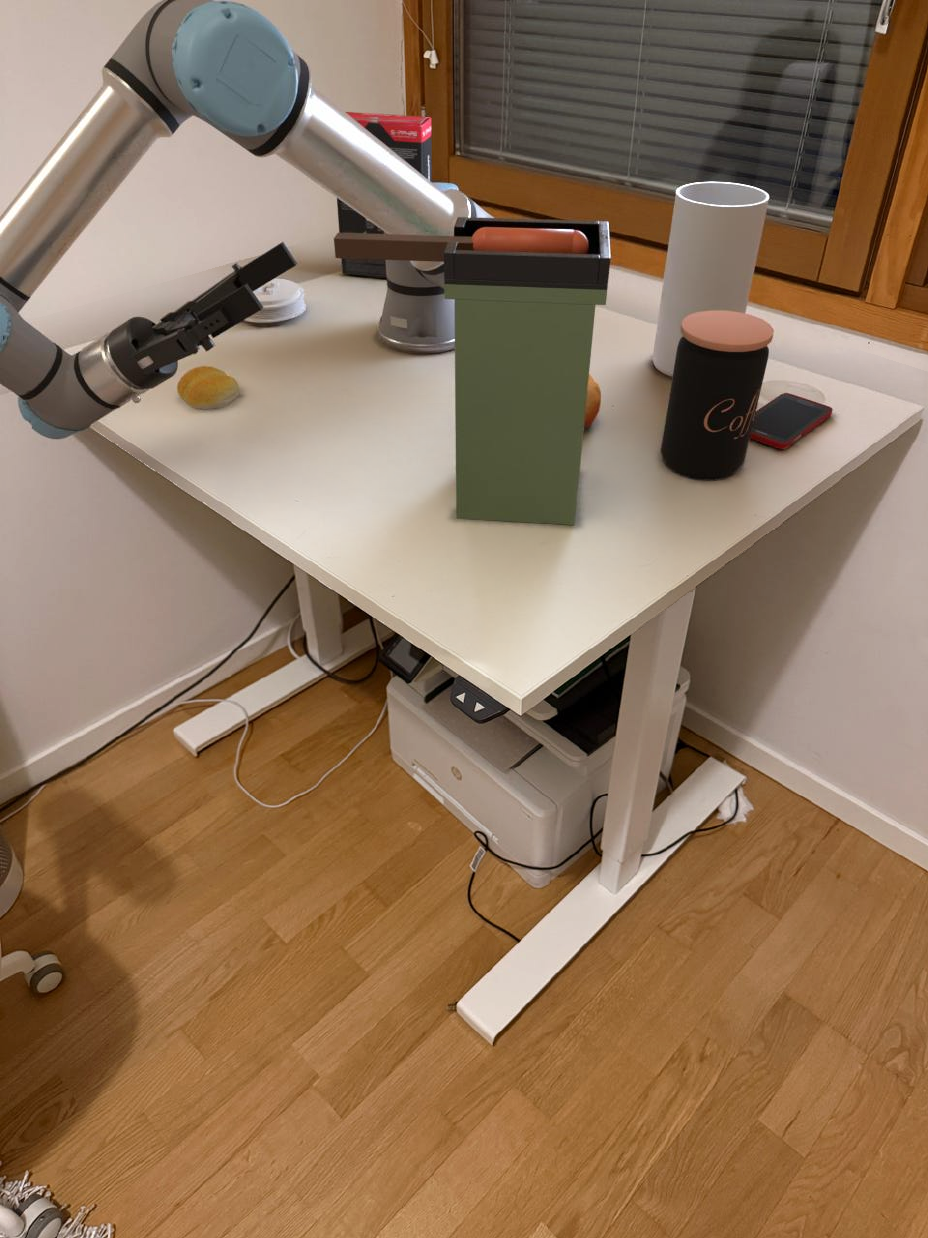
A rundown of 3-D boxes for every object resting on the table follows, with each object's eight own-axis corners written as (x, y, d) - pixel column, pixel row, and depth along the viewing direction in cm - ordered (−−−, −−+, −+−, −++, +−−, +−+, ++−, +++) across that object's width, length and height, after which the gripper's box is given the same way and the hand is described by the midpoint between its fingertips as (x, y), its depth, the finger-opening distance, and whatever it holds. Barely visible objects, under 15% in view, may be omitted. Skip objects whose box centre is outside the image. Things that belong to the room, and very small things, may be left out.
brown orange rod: (334, 260, 91) (331, 227, 89) (340, 250, 93) (337, 218, 91) (587, 268, 89) (589, 235, 87) (587, 258, 91) (589, 225, 89)
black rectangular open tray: (444, 283, 87) (443, 252, 85) (457, 245, 96) (457, 216, 94) (607, 289, 85) (610, 258, 84) (605, 250, 95) (608, 221, 93)
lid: (225, 308, 156) (220, 279, 153) (293, 296, 160) (289, 268, 157) (245, 333, 147) (240, 303, 144) (316, 320, 152) (313, 290, 149)
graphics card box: (436, 272, 170) (433, 112, 153) (427, 284, 165) (422, 120, 148) (352, 265, 173) (340, 108, 156) (340, 277, 168) (326, 115, 151)
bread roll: (200, 416, 124) (195, 390, 122) (171, 395, 130) (165, 369, 127) (252, 399, 128) (247, 373, 126) (221, 379, 134) (217, 354, 131)
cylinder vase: (700, 391, 130) (733, 211, 114) (635, 364, 138) (657, 192, 122) (749, 367, 137) (787, 194, 121) (685, 343, 144) (712, 177, 128)
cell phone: (833, 414, 124) (835, 407, 124) (783, 451, 116) (785, 445, 116) (783, 397, 128) (784, 391, 128) (731, 432, 120) (733, 426, 120)
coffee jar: (694, 491, 109) (721, 351, 97) (642, 453, 116) (662, 319, 105) (760, 470, 113) (794, 334, 101) (706, 435, 120) (732, 303, 108)
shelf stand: (447, 518, 104) (444, 283, 87) (458, 466, 114) (457, 245, 96) (583, 526, 103) (607, 289, 85) (583, 473, 112) (605, 250, 95)
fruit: (608, 399, 125) (606, 364, 118) (595, 446, 123) (593, 414, 115) (553, 390, 127) (548, 356, 120) (539, 437, 125) (533, 405, 117)
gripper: (189, 345, 114) (320, 266, 105) (109, 437, 95) (260, 350, 86) (150, 294, 110) (282, 208, 102) (58, 379, 91) (211, 282, 83)
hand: (273, 273), depth 94 cm, fingers open, 13 cm apart
